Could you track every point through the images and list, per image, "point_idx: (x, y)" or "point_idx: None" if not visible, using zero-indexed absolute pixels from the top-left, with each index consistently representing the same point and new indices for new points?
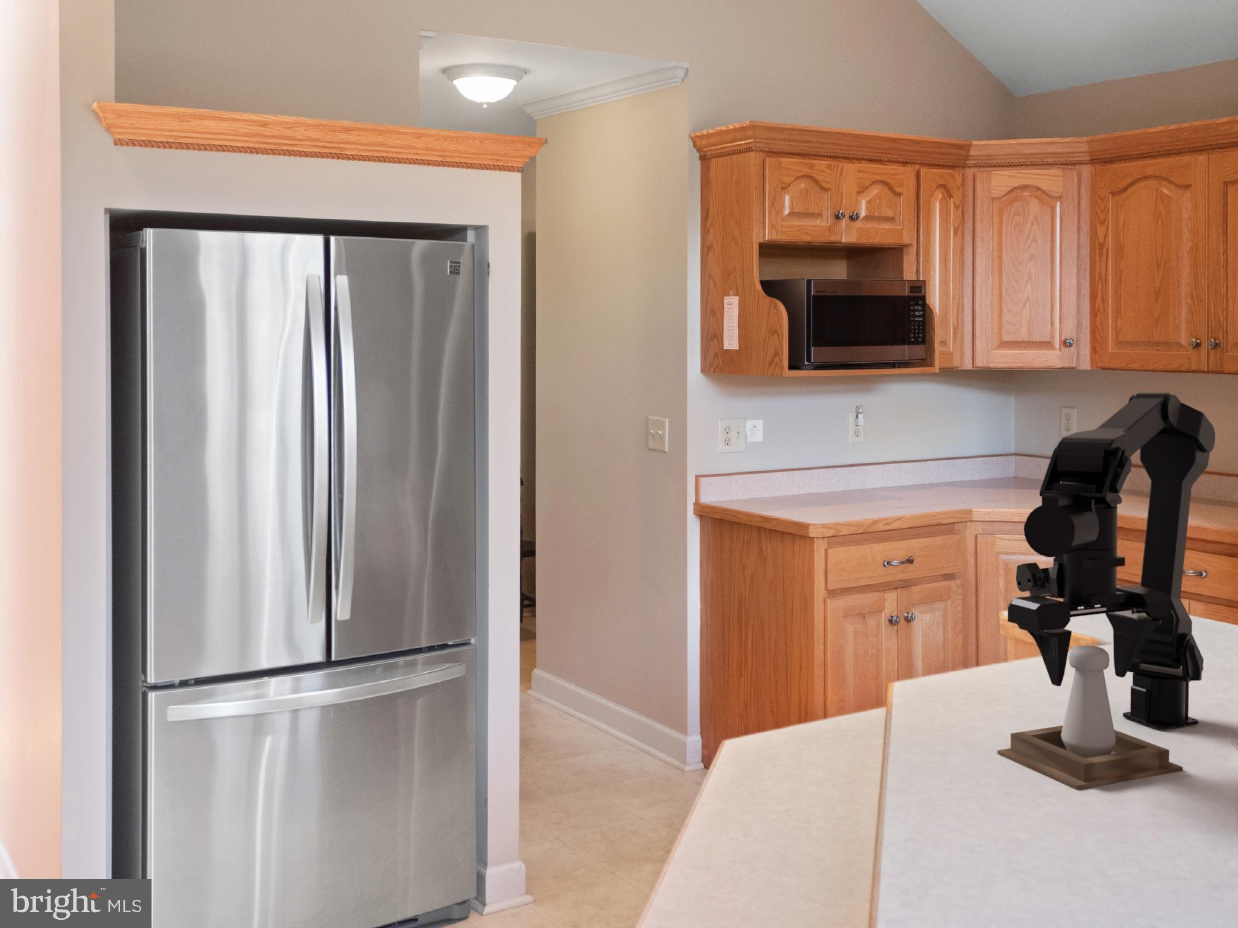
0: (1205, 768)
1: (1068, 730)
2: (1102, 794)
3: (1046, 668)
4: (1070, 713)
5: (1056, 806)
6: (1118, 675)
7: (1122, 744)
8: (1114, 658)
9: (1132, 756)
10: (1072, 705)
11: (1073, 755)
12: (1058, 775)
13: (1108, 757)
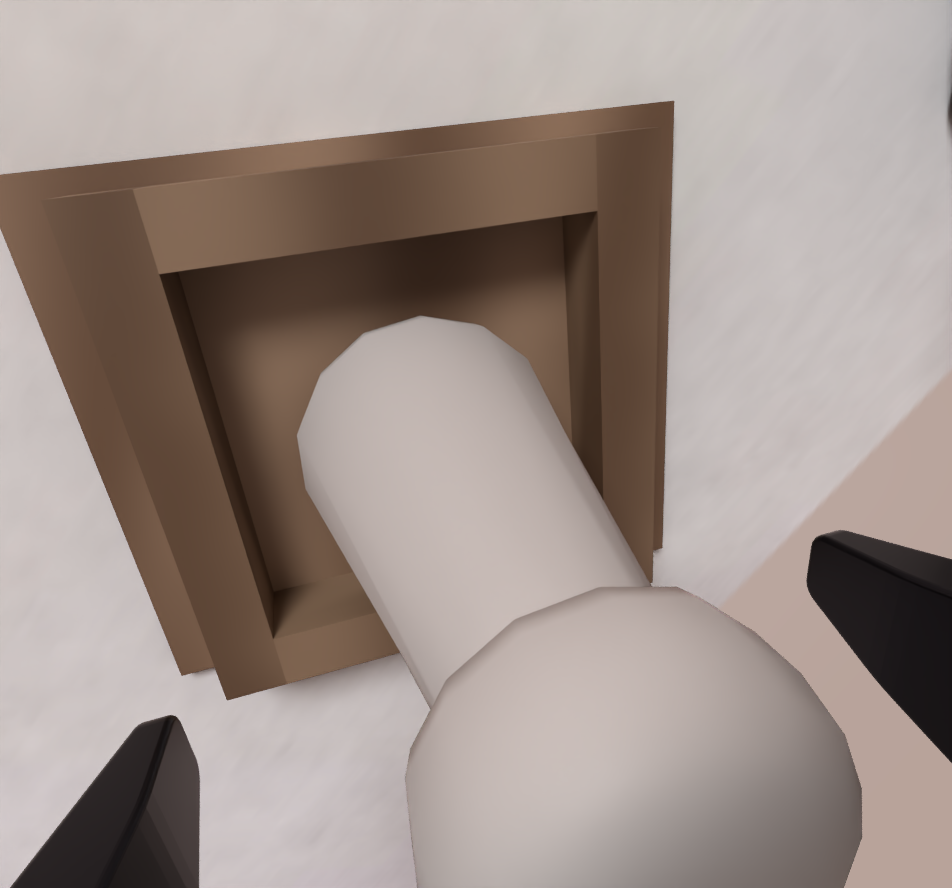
0: (728, 533)
1: (313, 482)
2: (256, 706)
3: (26, 871)
4: (338, 520)
5: (22, 793)
6: (815, 563)
7: (589, 413)
8: (940, 604)
9: None
10: (355, 551)
11: (240, 603)
12: (164, 574)
13: (377, 636)
